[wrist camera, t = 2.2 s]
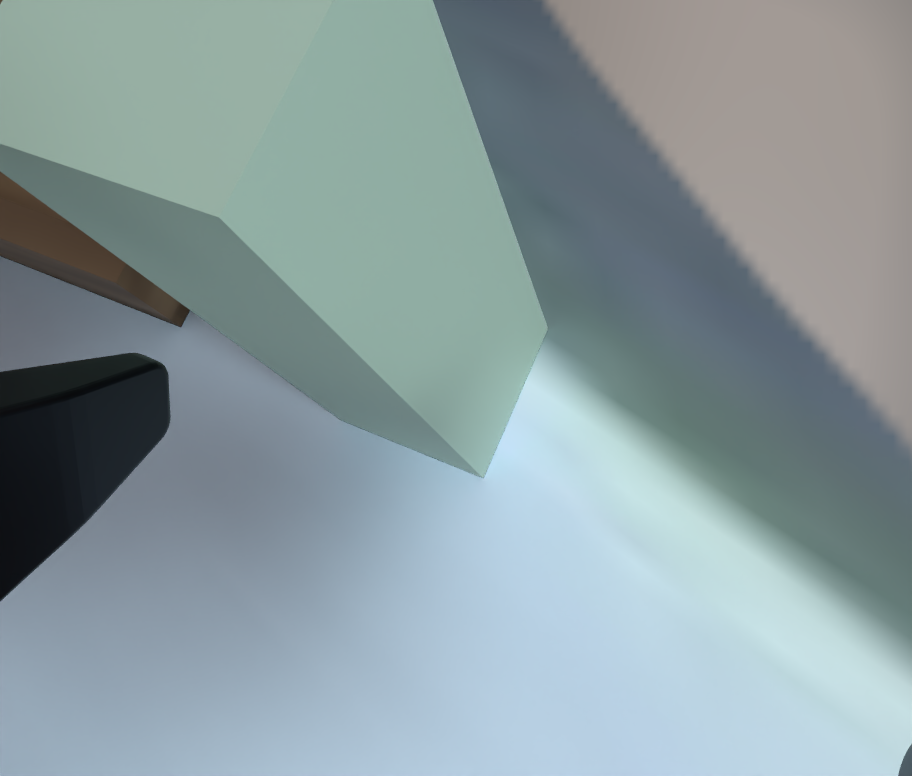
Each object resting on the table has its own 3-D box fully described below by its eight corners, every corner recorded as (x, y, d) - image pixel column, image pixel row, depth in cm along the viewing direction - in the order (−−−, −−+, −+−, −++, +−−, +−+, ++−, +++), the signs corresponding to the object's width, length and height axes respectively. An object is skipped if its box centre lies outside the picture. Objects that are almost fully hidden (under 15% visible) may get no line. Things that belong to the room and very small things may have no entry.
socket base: (180, 327, 23) (115, 282, 21) (-73, 227, 27) (-159, 176, 24) (337, 26, 25) (296, -52, 22) (82, -34, 28) (19, -109, 26)
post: (483, 478, 20) (219, 217, 8) (340, 419, 22) (-71, 120, 9) (547, 328, 21) (392, -113, 9) (405, 281, 22) (102, -162, 10)
